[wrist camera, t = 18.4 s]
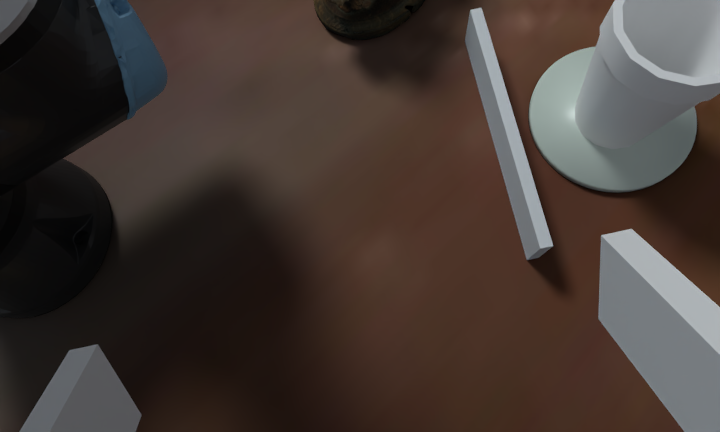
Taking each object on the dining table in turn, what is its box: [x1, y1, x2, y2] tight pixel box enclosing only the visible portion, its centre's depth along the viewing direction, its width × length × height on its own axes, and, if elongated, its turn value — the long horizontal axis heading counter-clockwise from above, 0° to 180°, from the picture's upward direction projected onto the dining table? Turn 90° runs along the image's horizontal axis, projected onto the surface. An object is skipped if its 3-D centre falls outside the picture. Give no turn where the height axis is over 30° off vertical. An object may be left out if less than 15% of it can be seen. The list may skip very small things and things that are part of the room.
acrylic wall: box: [465, 8, 553, 260], centre depth 43 cm, size 22×1×4 cm, turn 10°
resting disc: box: [528, 47, 697, 193], centre depth 44 cm, size 14×14×1 cm
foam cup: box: [575, 0, 720, 149], centre depth 38 cm, size 10×9×13 cm
